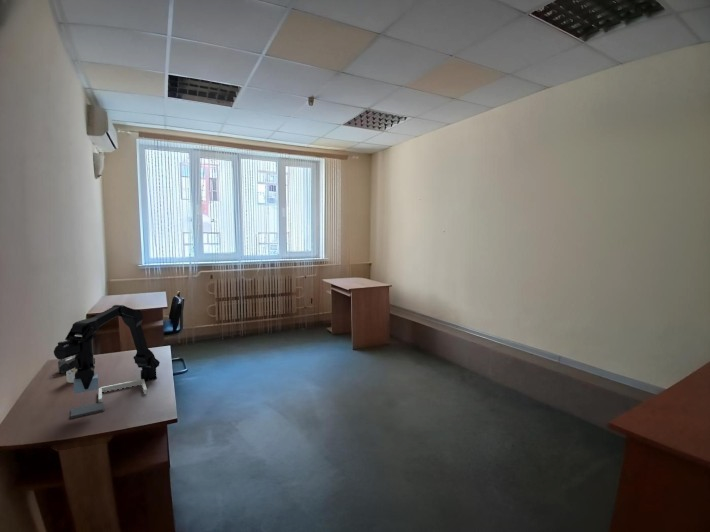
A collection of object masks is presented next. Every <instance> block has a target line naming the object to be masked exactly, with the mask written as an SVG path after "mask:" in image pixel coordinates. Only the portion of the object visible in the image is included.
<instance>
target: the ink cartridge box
mask: <svg viewBox="0 0 710 532" xmlns="http://www.w3.org/2000/svg"><path fill="white" fill-rule="evenodd" d="M72 358H75V355H74V356H71V357H69V358H66V360H65V361H67V360H69V359H72ZM76 371H77V369H75V368H73V369H71V370H69V371H67V372H66V373H65V374H66V376H65V377H66V383H71V384H72V383H73V384H74V378H75V372H76Z"/></svg>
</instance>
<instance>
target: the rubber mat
mask: <svg viewBox="0 0 710 532" xmlns="http://www.w3.org/2000/svg"><path fill="white" fill-rule="evenodd" d="M104 405H105V403H104V401H102V402H99V401H98V402H95V403H90V404H86V405H85V404H84V405H81V406H76V407H72V408H71V411H70V420H71V419H75V418H80V417H84V416H83V415H85V416H88V414H89V415H93V414H96V412H98V413H101V412H100V411H102V412H104ZM92 413H93V414H92Z"/></svg>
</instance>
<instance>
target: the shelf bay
mask: <svg viewBox="0 0 710 532" xmlns="http://www.w3.org/2000/svg"><path fill="white" fill-rule="evenodd" d="M141 384H142V385H141ZM137 385H139V386H141V389H142V388H143V389H142V391H143V392H144V393H143V395H144V394H145V395H147V394H148V389H147V385H146V381H144V379H141V378H139V379H136V380H131V381H130V380H129V381H125V382H120V383H115V384H111V385H106V386H100V387H99V386H98V403H99V402H103V393H102V392H104V393H108V392H107V391H109V392H112V391H111V390H114V391H118V390H117V389H119V390H123V389H122V388H124V389H127V388H126V387H129V388H132V386H134V387H137Z"/></svg>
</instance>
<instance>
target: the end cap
mask: <svg viewBox="0 0 710 532" xmlns="http://www.w3.org/2000/svg"><path fill="white" fill-rule="evenodd" d="M65 360H67V358H65V359H62V360H59V359H58V362H57V366H58V373H59V374H60V373H61V374H63V373H62V372H61V371H60V369H59V364H61V363H63V362H65Z"/></svg>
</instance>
